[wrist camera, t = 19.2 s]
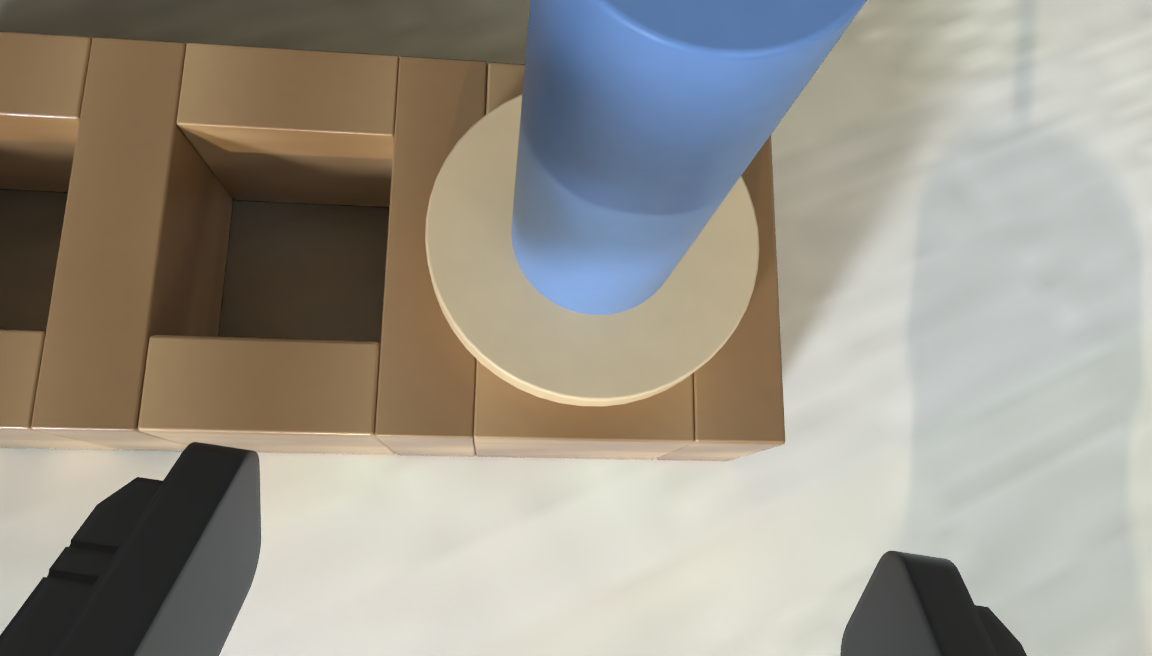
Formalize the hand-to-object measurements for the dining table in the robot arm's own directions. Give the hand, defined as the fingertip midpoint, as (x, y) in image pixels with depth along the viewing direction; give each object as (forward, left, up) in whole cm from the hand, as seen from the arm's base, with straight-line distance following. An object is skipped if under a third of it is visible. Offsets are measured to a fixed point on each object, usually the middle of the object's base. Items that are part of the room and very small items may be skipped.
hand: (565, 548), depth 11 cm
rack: (-7, +4, -9) cm, 12 cm away
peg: (-1, +6, -8) cm, 10 cm away
